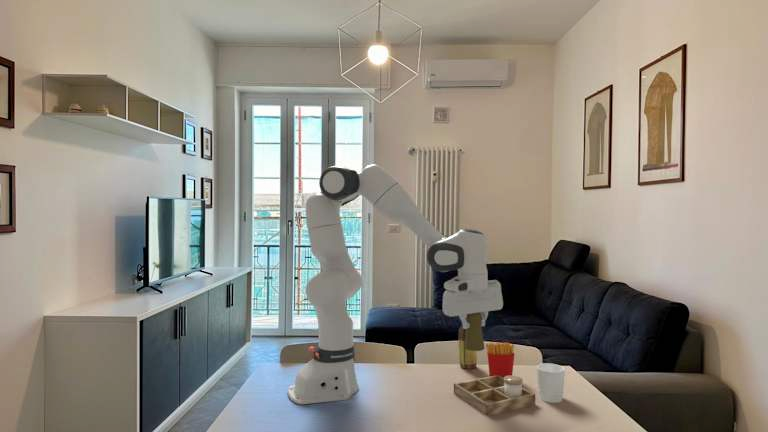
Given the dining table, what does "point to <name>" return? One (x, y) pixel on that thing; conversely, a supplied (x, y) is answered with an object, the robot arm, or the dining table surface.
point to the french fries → (500, 359)
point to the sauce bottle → (465, 351)
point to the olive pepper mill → (474, 333)
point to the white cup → (550, 382)
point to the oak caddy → (491, 395)
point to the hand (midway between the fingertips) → (473, 327)
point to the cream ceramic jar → (513, 386)
